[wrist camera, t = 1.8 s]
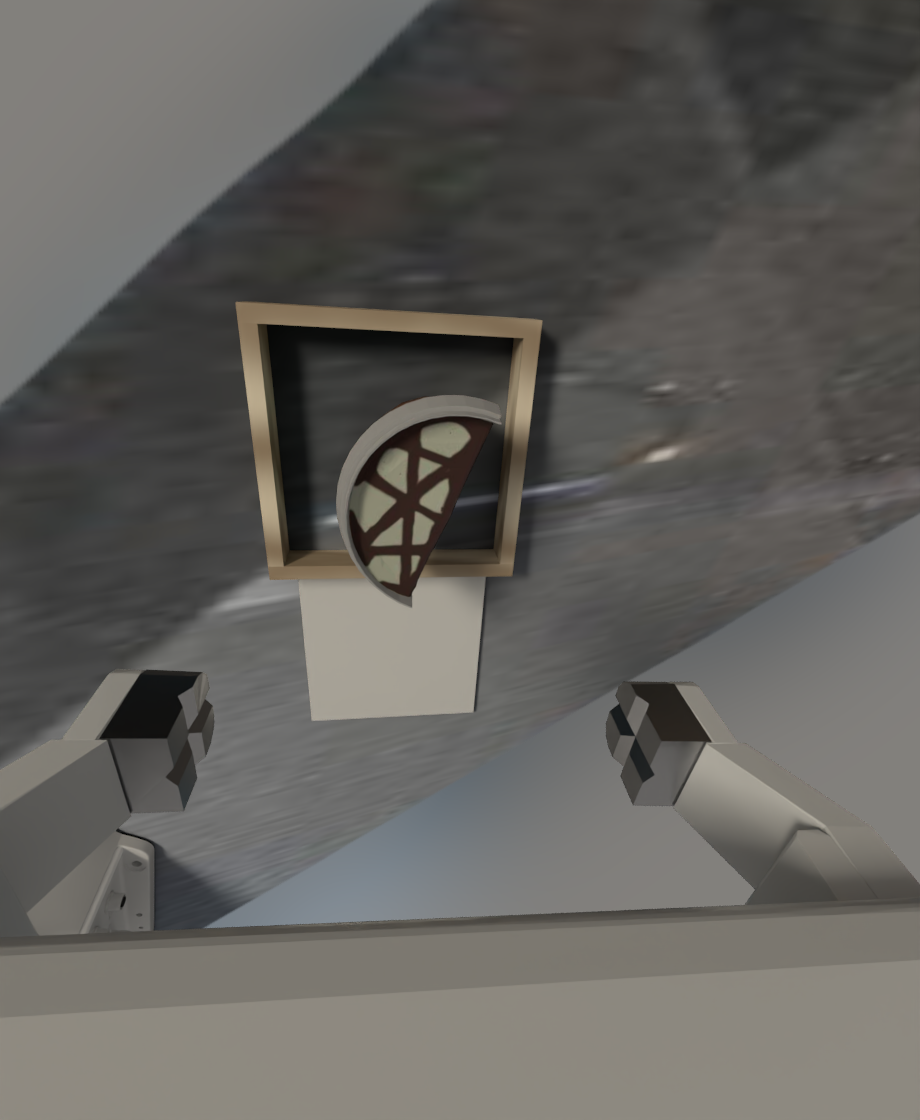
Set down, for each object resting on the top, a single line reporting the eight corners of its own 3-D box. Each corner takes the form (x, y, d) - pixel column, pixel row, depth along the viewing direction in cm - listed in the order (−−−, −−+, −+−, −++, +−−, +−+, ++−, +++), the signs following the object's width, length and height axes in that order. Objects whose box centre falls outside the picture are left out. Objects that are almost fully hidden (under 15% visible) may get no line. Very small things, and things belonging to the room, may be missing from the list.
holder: (505, 560, 40) (512, 576, 38) (276, 563, 37) (269, 579, 35) (531, 318, 32) (542, 320, 30) (246, 301, 30) (235, 302, 28)
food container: (385, 339, 32) (386, 356, 23) (474, 381, 34) (507, 412, 25) (320, 512, 36) (300, 582, 27) (402, 541, 38) (408, 616, 29)
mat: (472, 709, 46) (473, 712, 46) (312, 717, 44) (312, 720, 44) (485, 572, 40) (485, 574, 40) (299, 574, 38) (298, 577, 38)
